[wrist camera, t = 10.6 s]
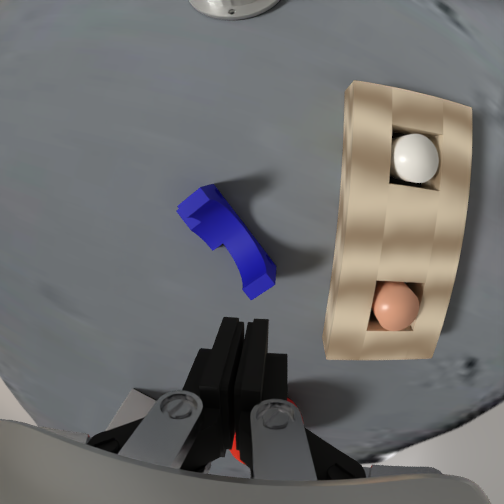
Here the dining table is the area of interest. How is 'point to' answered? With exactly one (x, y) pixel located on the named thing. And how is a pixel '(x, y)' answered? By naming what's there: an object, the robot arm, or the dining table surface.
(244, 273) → the cable clip
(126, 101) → the dining table surface
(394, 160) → the white domed cylinder
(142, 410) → the milk carton
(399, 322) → the peach rounded piece
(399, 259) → the housing
